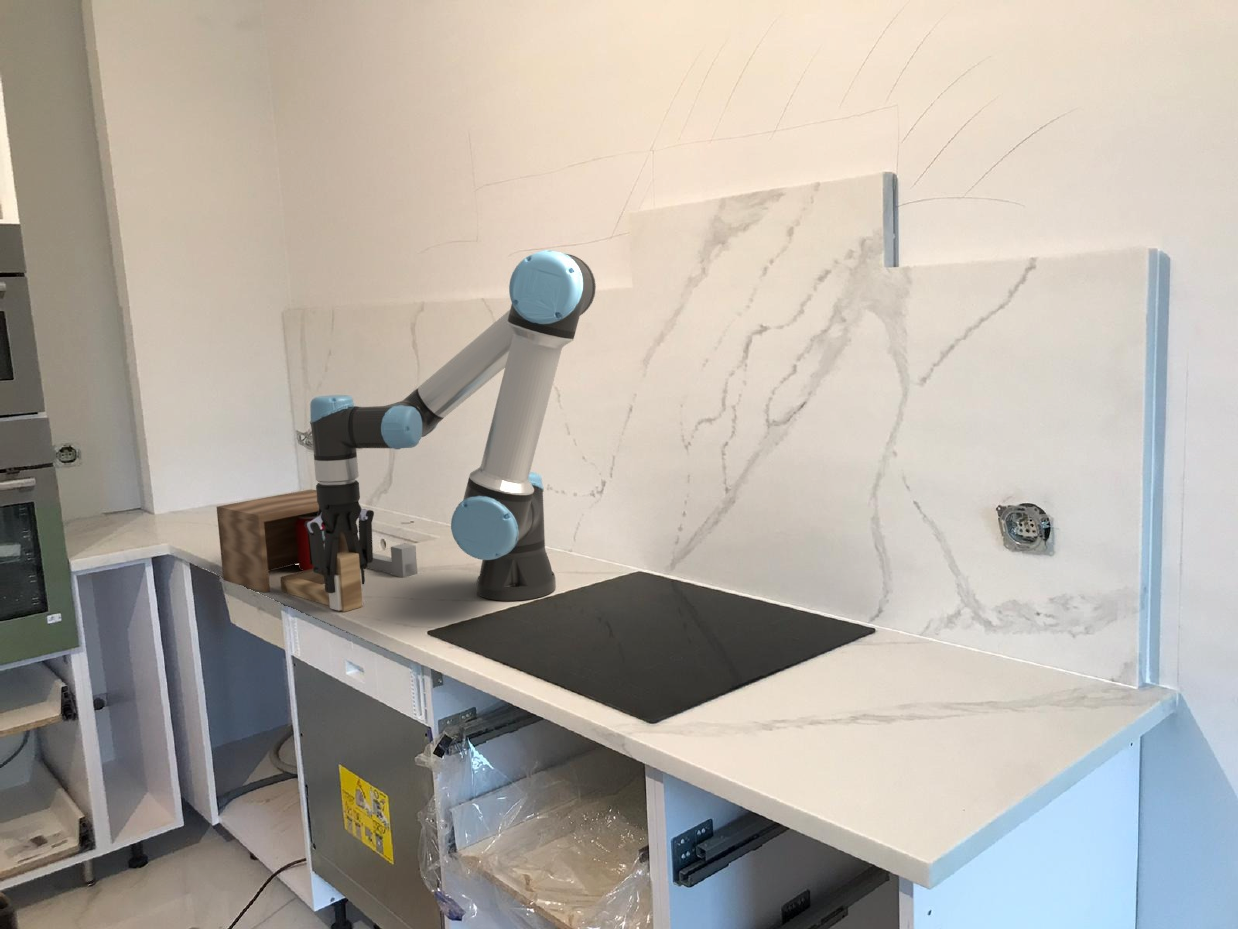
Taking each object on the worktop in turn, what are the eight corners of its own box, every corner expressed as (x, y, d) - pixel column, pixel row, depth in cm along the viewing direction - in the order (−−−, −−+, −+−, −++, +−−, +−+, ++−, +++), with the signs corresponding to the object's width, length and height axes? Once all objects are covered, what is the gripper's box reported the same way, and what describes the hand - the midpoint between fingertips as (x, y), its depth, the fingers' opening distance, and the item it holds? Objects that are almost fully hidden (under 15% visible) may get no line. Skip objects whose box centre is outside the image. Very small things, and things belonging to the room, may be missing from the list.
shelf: (359, 568, 212) (354, 496, 210) (265, 592, 196) (258, 515, 193) (316, 557, 223) (310, 489, 220) (223, 580, 206) (216, 506, 203)
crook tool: (388, 598, 189) (384, 547, 187) (344, 612, 182) (340, 558, 180) (321, 581, 203) (317, 533, 201) (278, 592, 196) (273, 542, 194)
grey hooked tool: (417, 573, 207) (415, 545, 206) (403, 577, 204) (401, 549, 203) (376, 564, 216) (374, 537, 215) (362, 567, 213) (360, 540, 212)
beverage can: (322, 574, 208) (318, 518, 206) (293, 573, 210) (288, 517, 208) (338, 565, 215) (333, 511, 213) (309, 565, 216) (304, 510, 214)
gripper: (363, 472, 189) (372, 591, 193) (283, 486, 177) (294, 614, 180) (388, 475, 185) (396, 598, 188) (307, 490, 172) (318, 621, 176)
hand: (346, 605), depth 184 cm, fingers closed on crook tool, 4 cm apart
